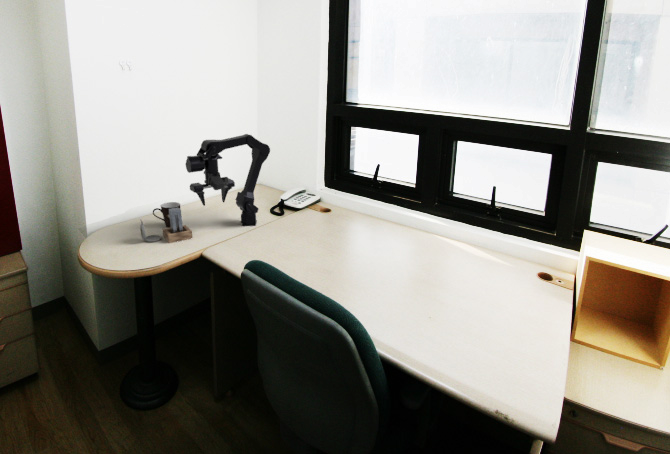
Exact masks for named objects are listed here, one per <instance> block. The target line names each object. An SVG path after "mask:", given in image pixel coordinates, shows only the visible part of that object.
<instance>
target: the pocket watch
mask: <svg viewBox="0 0 670 454" xmlns="http://www.w3.org/2000/svg"><path fill="white" fill-rule="evenodd" d="M139 219H140V218H139ZM139 225H140V226H139V228H140V235H141V239H142V240H144V241H145V242H147V243H153V242H157V241H160V240H161V238H162V237H161V235H160V234H151V235H147V234H146V230H145V229H146V228H145V225H144V221H142V219H140V224H139Z"/></svg>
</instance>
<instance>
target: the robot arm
mask: <svg viewBox="0 0 670 454" xmlns="http://www.w3.org/2000/svg"><path fill="white" fill-rule="evenodd" d="M244 145H245V146H246V145H247V146H248V147H249V148H250V149H251V158H252V159H251V164H250V167H249V170H248V174H247V177H246V180H245V183H244V187H243V189H242V190H241V192H240V191H238V192H237V194H236V198H234V200H235V204H236V207H238V208H239V209H240V211H241V214H240V223H241V226H247V227H248V226H251V227H252V226H253V227H254V226H256V225H257V222H258V220H257V213H258V212H259V208H258V207H257V206H256V205H255V195H254V193H255V192H254V191H255V189H256V185H257V182H258V178H259V177H260V172H261V169H262V166H263V163H264V162H265V161H266V160H268V157H269V154H270V152H271V148H270V146H269V145H268V144H267V143H263V142H261V141H260V140H258V139H257V138H255V137H254V136H253V135H252V134H248V133H245V134H242V135H238V136H233V137H228V138H225V139H205V140H203V141H202V143H201V145H200V149H199V150H198V152H197V153H196V155H188V156H186V160H185V169H186V171H187V173H189V174H191V173H196V172H203V174H204V178H205V180H204V183H203V184H202V183H200V182H195V183H194V182H193V183H190V185H189V190H190V192H193V193H195V194H197V196H198V198H199V200H200V202H201V204H202V205H203V207H204V206H206V202H205V191H204V189H210V188H211V189H213V190H214V191H219V190H220V191H221V193H220V194H221V200H222V203H225V201H226V198H227V195H228V193H229V191H230V190H232V189H233V188H234V187H236V185H235V184H236V183H235V181H234V180H233V179H231V178H229V177H228V176H224V177H221V173H220V172H219V163H218V162H219V161H218V160H221V159H223V157H222V156H221V155H220V154H219V153H222V152H223V151H226V150H227V149H232V148H236V147H240V146H241V147H242V146H244Z"/></svg>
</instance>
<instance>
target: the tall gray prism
mask: <svg viewBox="0 0 670 454" xmlns="http://www.w3.org/2000/svg"><path fill="white" fill-rule="evenodd" d="M175 215H176V218H175ZM169 216H170V225H171V234H173V233H178V232H183V225H184V224H183V217H182V210H181V208H180V209H179V208H178V207H177V208H171V209H169ZM176 224H177V227H176Z"/></svg>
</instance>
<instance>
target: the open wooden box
mask: <svg viewBox="0 0 670 454" xmlns="http://www.w3.org/2000/svg"><path fill="white" fill-rule="evenodd" d="M182 225H183V232H178V233H173V234H171V228H170V227H165V228H162V236H163V238H164V239H165V240H166V242H168V243H169V244H172V243H177V241H178V242H182V240H183V241H187V239H188V240H192V239H191V238H194V237H193V231H192V230H191V228H189V227H188V226H187V224H182Z"/></svg>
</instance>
